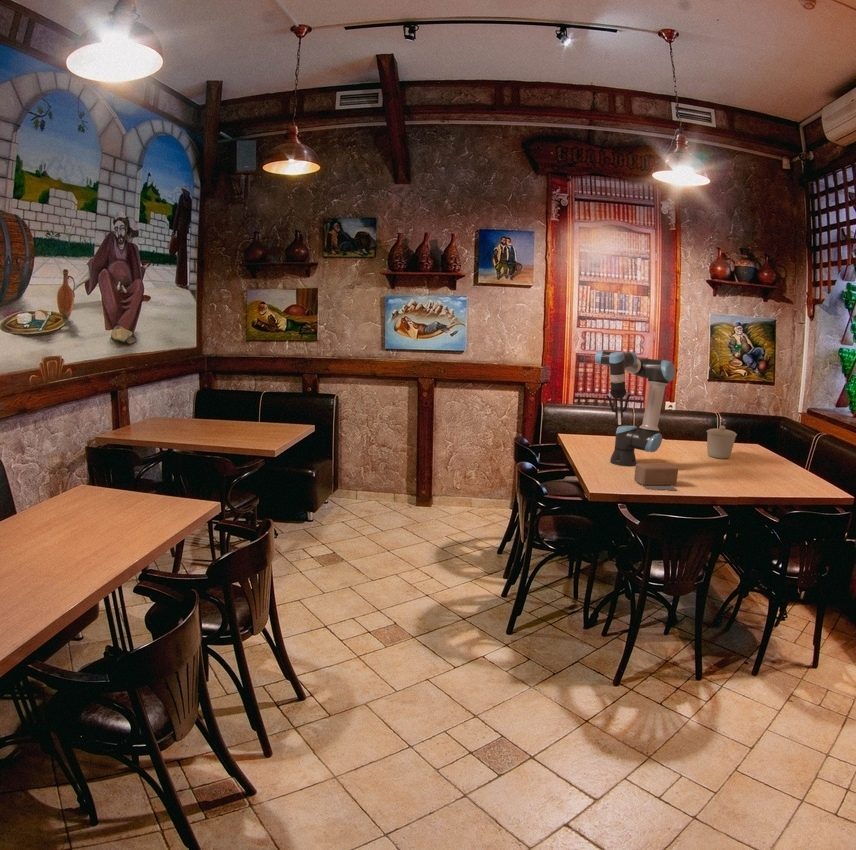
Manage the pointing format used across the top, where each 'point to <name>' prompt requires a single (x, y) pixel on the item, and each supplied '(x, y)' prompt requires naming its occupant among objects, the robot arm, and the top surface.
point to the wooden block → (656, 474)
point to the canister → (720, 442)
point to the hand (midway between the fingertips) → (619, 423)
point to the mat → (660, 487)
